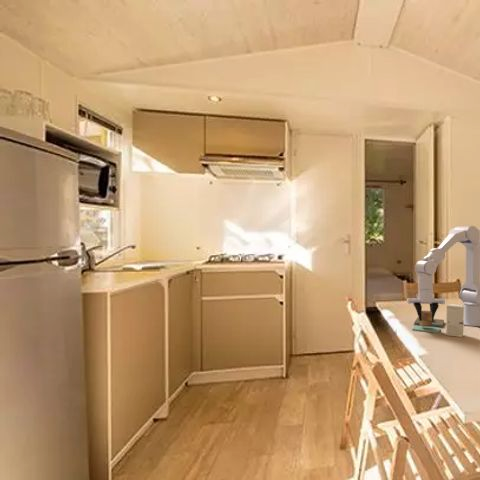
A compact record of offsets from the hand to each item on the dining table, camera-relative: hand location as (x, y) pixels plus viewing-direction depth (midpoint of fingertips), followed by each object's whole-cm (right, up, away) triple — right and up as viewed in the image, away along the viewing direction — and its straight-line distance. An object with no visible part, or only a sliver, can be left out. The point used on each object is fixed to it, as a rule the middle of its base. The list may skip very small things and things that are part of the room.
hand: (426, 320), depth 163 cm
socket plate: (+6, -4, +10) cm, 13 cm away
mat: (0, -4, 0) cm, 4 cm away
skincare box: (+7, -4, -9) cm, 12 cm away
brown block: (0, -2, 0) cm, 2 cm away
